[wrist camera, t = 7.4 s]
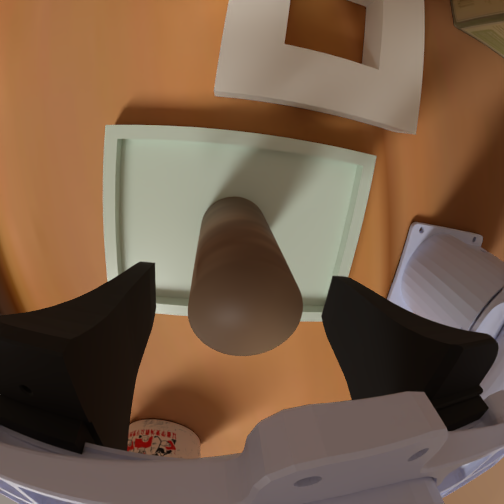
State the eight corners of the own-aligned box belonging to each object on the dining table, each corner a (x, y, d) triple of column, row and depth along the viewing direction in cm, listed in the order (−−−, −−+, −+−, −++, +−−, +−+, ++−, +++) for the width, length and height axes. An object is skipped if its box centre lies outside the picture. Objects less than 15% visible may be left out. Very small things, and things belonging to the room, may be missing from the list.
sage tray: (365, 153, 18) (376, 155, 16) (328, 310, 22) (334, 321, 21) (114, 124, 15) (105, 125, 14) (116, 296, 20) (110, 308, 19)
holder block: (404, -9, 13) (423, -18, 10) (394, 131, 17) (415, 134, 15) (242, -55, 11) (246, -74, 9) (214, 96, 16) (213, 90, 13)
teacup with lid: (176, 409, 26) (170, 514, 15) (215, 448, 30) (220, 533, 19) (91, 423, 26) (71, 506, 16) (136, 458, 30) (128, 531, 20)
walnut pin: (271, 201, 18) (316, 268, 10) (259, 261, 19) (287, 358, 11) (205, 192, 17) (193, 253, 9) (197, 253, 19) (184, 350, 11)
